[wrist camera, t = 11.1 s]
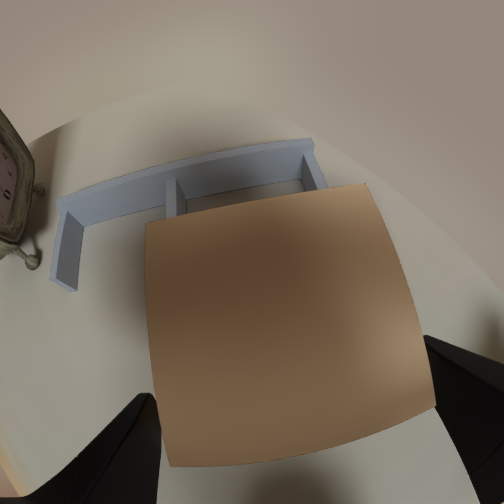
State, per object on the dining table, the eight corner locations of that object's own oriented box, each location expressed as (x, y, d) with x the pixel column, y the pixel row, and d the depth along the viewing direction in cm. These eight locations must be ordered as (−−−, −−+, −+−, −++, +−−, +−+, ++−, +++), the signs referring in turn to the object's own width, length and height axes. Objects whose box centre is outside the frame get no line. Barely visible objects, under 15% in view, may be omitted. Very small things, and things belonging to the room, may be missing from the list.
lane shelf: (333, 243, 20) (344, 214, 16) (70, 291, 20) (41, 275, 16) (307, 170, 23) (311, 137, 19) (79, 221, 23) (57, 199, 19)
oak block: (331, 386, 15) (436, 405, 4) (238, 406, 15) (170, 466, 4) (312, 300, 18) (365, 183, 7) (223, 317, 18) (145, 223, 7)
